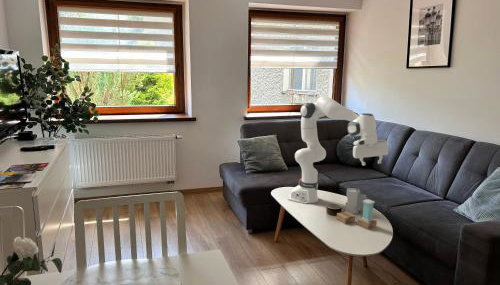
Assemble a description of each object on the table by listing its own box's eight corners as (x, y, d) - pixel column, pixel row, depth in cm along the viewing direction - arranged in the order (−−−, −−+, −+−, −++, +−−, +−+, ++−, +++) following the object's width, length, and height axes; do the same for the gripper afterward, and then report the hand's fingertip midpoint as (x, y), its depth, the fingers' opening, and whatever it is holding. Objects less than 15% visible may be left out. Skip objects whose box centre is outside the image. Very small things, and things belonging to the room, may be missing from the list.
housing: (367, 222, 222) (369, 203, 219) (361, 219, 226) (362, 200, 224) (373, 220, 225) (374, 201, 222) (366, 217, 229) (368, 199, 226)
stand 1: (344, 224, 228) (345, 218, 227) (336, 219, 235) (336, 213, 234) (354, 221, 232) (355, 215, 231) (346, 217, 239) (346, 211, 238)
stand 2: (367, 229, 221) (368, 223, 220) (357, 224, 227) (357, 218, 226) (376, 226, 225) (376, 220, 224) (365, 222, 231) (366, 216, 231)
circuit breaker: (368, 214, 243) (370, 193, 240) (345, 212, 246) (347, 191, 243) (367, 210, 250) (368, 189, 247) (345, 208, 253) (346, 188, 250)
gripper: (384, 139, 218) (386, 162, 219) (350, 142, 217) (353, 165, 217) (389, 139, 212) (391, 162, 212) (354, 142, 211) (356, 166, 211)
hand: (371, 164), depth 215 cm, fingers open, 8 cm apart
